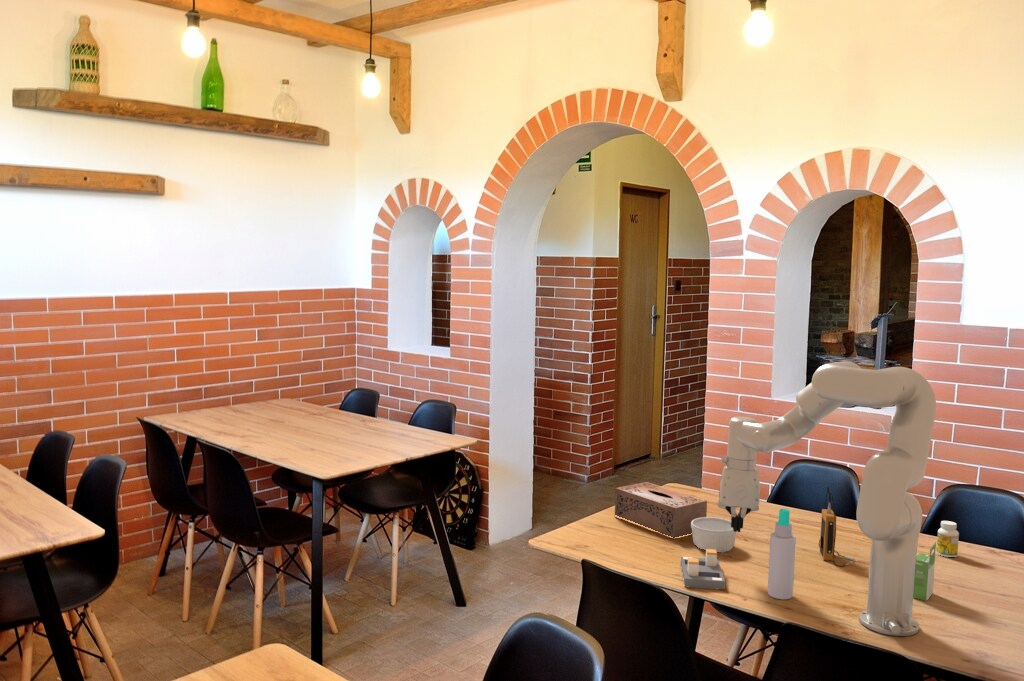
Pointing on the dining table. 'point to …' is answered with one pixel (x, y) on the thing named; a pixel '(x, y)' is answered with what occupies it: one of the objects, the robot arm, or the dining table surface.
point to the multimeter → (829, 533)
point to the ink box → (924, 575)
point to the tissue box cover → (659, 508)
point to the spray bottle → (782, 558)
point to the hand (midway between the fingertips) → (736, 530)
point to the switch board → (703, 575)
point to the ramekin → (713, 533)
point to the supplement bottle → (947, 539)
